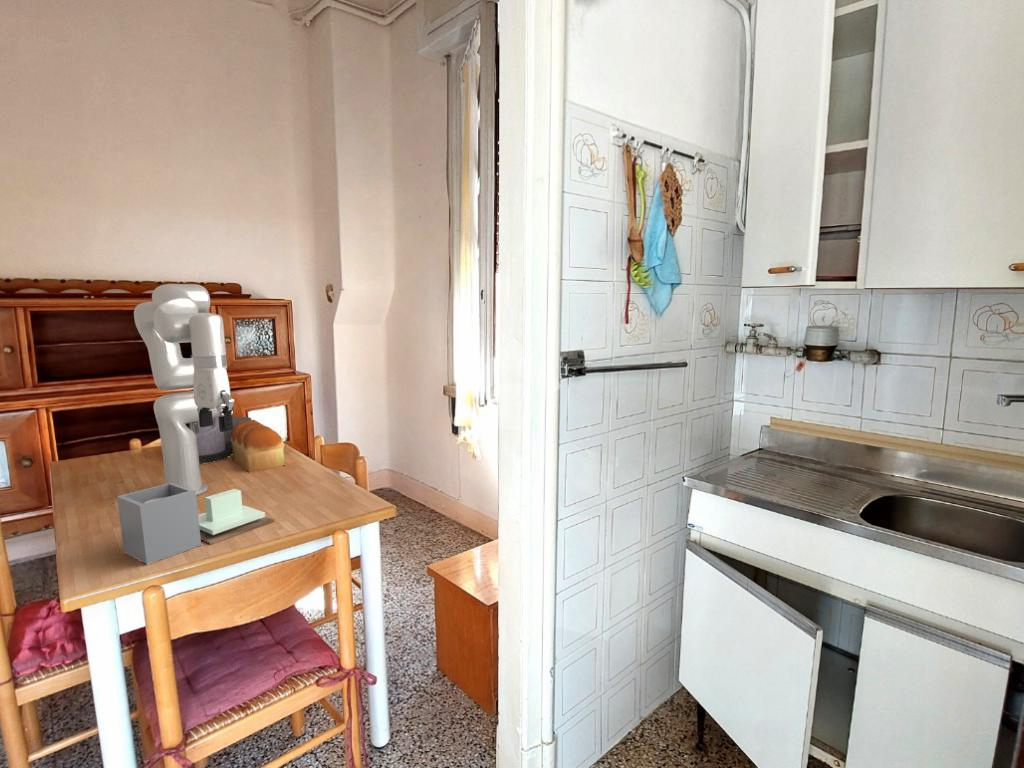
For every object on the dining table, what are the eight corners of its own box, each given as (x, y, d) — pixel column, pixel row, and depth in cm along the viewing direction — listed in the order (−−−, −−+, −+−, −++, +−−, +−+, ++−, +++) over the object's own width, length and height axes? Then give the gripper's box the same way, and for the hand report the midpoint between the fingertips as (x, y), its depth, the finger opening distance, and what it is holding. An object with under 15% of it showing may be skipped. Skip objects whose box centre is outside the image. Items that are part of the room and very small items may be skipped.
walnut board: (176, 530, 144) (176, 527, 144) (239, 509, 158) (239, 507, 158) (210, 544, 135) (210, 542, 135) (274, 521, 149) (274, 519, 149)
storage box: (124, 552, 131) (116, 496, 129) (177, 535, 141) (171, 482, 139) (147, 565, 125) (139, 505, 123) (201, 545, 134) (195, 490, 132)
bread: (231, 459, 212) (228, 421, 210) (265, 453, 220) (262, 417, 218) (249, 473, 193) (245, 432, 191) (286, 466, 201) (282, 427, 199)
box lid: (185, 527, 145) (182, 497, 143) (237, 510, 156) (234, 482, 155) (213, 538, 137) (210, 507, 136) (265, 520, 148) (263, 490, 147)
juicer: (199, 467, 203) (193, 401, 199) (170, 462, 209) (163, 399, 206) (265, 447, 230) (260, 389, 227) (238, 444, 236) (233, 387, 233)
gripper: (177, 362, 142) (184, 427, 145) (213, 366, 132) (219, 435, 135) (207, 359, 148) (213, 422, 151) (243, 363, 139) (248, 429, 141)
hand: (216, 428), depth 143 cm, fingers open, 9 cm apart
